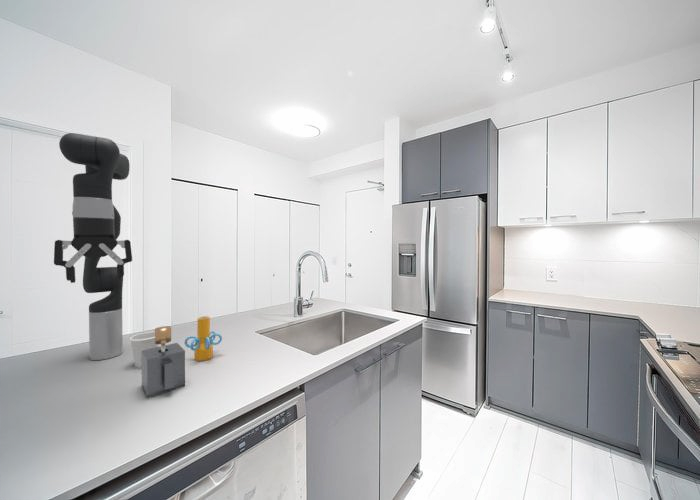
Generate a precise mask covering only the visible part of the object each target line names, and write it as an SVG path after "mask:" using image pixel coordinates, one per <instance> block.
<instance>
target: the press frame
mask: <svg viewBox="0 0 700 500" xmlns="http://www.w3.org/2000/svg"><path fill="white" fill-rule="evenodd" d="M141 362H142V367H141V388H142V390H143V392H144V394H145V396H146V398H147V400H148V399H150V398H153V397H156V396H159V395H162V394H165V393H168V392H172V391H174V390H179V389H181V388H184V387H186V350H185V349H184V348H183V347H182V346H181V345H180V344H178V342H175V343H169V344H165V352H161V345H159V346H158V347H156V348H151V349H147V350H142V351H141Z"/></svg>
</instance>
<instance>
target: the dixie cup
mask: <svg viewBox="0 0 700 500" xmlns="http://www.w3.org/2000/svg"><path fill="white" fill-rule="evenodd" d="M129 340H130V343H131V348H132V354H133V360H134V361H133V362H134V366H135V368H139V369H140V368H141V369H142V362H141V351H142V350H147V349H151V348H156V347H159V344H155V331H148V332H141V333H138V334H135V335H132V336H130V338H129Z"/></svg>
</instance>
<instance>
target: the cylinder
mask: <svg viewBox="0 0 700 500" xmlns="http://www.w3.org/2000/svg"><path fill="white" fill-rule="evenodd" d="M196 319H197V322H196V323H197V325H196V326H197V328H196V329H197V333H196V335H197V336H195V335H190V336H187V337H186V338H185V340H184V345H185V346H186V348H190V350H191V351H193V352H194V356H193V357H194V361H196V362H204V361H207V360H210V359H212V358H213V355H214V346H217V345H219V344H221V342H222V340H223V337H222V335H221V334H220V333H216V332H215V331H214V330H211V323H210V320H211V318H210V316H208V315H207V316H206V315H205V316H198V317H197V318H196ZM216 336H217V337H218V338H219V340H218V341H217V342H214V341H215V339H216ZM190 339H192V340H191V342H190V344H188V341H189V340H190Z"/></svg>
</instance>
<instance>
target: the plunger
mask: <svg viewBox="0 0 700 500" xmlns="http://www.w3.org/2000/svg"><path fill="white" fill-rule="evenodd" d="M154 332H155V344H158V345H160V346H161V352H165V345H166V344H168V343H170V342H172V326H171V325H167V326H166V325H163V326H159V327H155V328H154Z"/></svg>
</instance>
